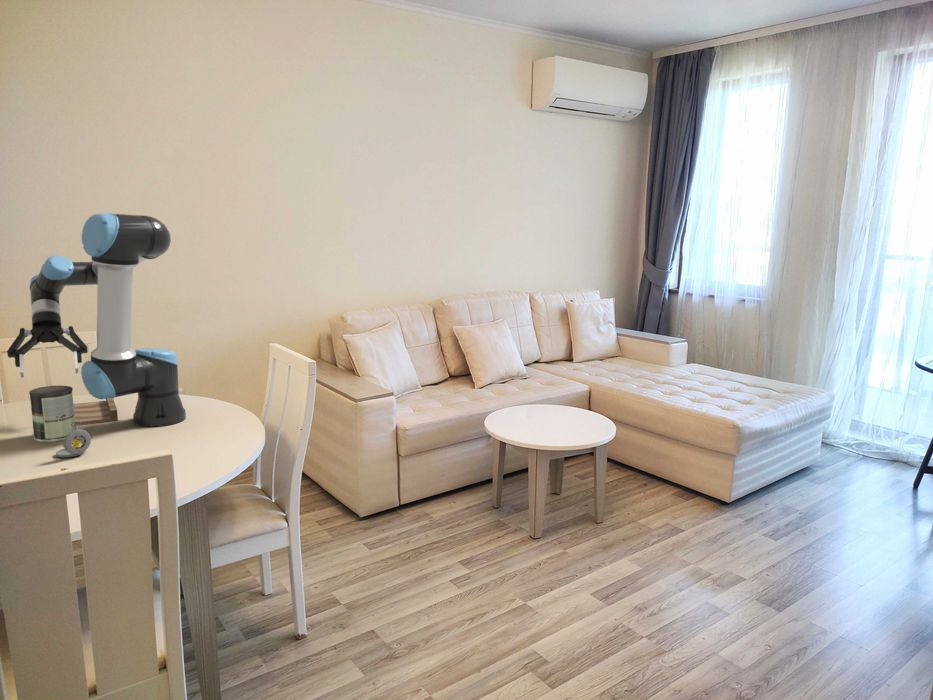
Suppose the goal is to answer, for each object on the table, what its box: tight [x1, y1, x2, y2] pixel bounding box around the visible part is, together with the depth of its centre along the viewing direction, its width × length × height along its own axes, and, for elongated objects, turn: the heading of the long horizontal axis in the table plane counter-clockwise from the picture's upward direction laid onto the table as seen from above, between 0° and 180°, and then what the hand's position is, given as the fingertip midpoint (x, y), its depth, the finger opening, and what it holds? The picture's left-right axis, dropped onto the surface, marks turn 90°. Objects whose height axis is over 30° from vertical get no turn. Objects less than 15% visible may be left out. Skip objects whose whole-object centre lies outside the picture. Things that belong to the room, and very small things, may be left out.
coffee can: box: [28, 385, 75, 443], centre depth 174 cm, size 10×10×14 cm
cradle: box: [73, 398, 119, 426], centre depth 197 cm, size 24×17×4 cm
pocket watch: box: [55, 421, 92, 458], centre depth 161 cm, size 8×8×10 cm
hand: (50, 372), depth 182 cm, fingers open, 13 cm apart
